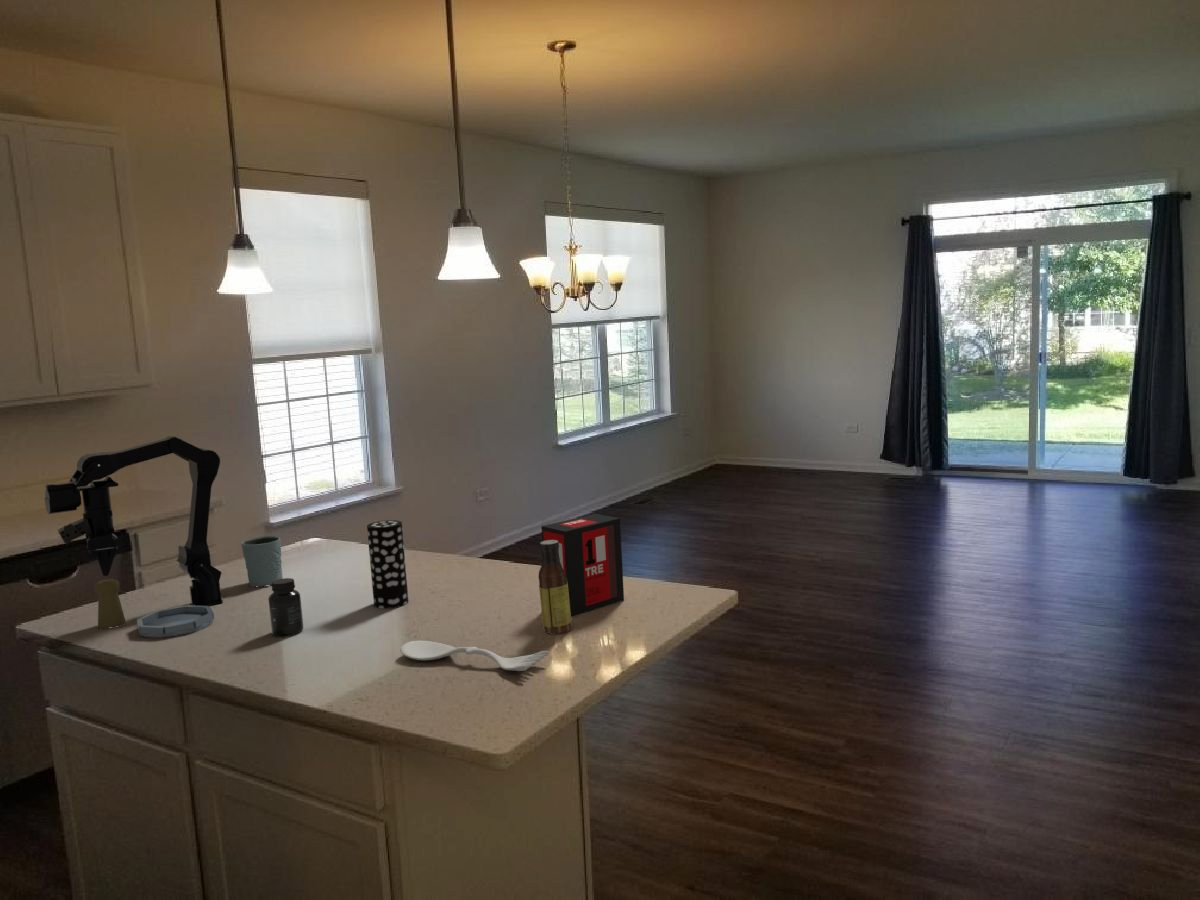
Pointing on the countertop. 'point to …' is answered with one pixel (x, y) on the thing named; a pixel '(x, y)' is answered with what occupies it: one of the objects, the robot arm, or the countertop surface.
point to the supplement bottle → (285, 608)
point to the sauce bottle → (553, 590)
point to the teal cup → (263, 560)
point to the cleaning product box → (590, 560)
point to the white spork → (438, 650)
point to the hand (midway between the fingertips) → (105, 571)
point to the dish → (175, 621)
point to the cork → (109, 604)
